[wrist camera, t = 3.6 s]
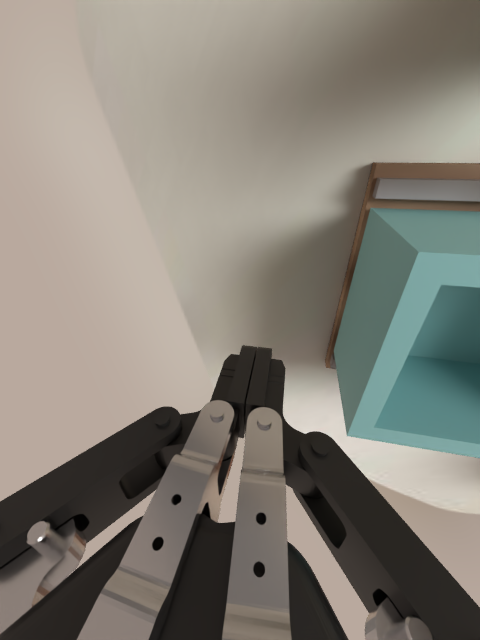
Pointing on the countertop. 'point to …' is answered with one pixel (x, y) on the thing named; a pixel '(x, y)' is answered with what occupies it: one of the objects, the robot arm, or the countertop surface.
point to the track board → (409, 205)
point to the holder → (414, 332)
